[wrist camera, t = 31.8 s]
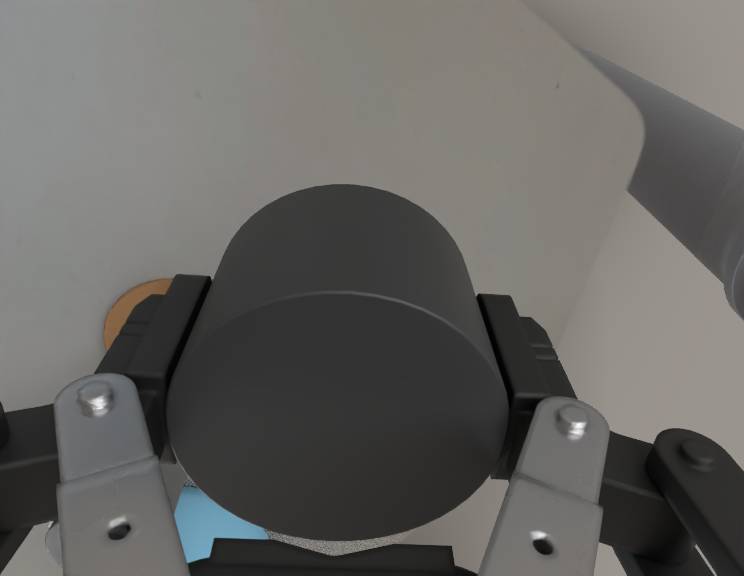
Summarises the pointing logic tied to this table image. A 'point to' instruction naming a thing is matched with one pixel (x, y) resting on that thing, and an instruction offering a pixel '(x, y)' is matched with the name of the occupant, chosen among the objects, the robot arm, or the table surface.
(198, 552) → the sugar bowl
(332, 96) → the table surface
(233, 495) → the black cap
